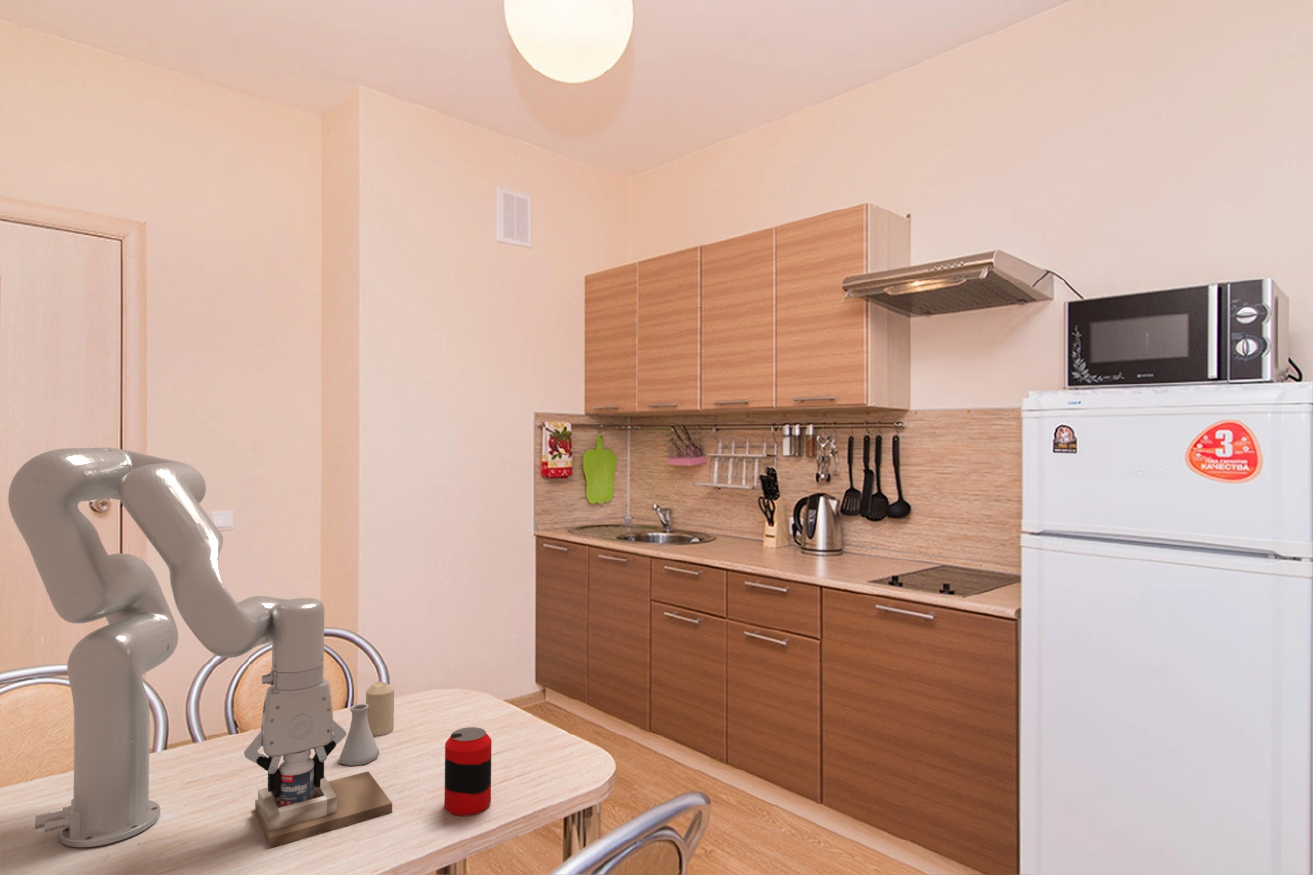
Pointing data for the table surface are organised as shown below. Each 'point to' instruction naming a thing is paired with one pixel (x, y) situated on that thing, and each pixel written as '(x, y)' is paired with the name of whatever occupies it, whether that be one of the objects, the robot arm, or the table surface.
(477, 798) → the soda can
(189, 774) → the table surface
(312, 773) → the pill bottle
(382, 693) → the candle
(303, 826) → the socket board
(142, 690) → the robot arm
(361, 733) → the flask
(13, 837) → the table surface
